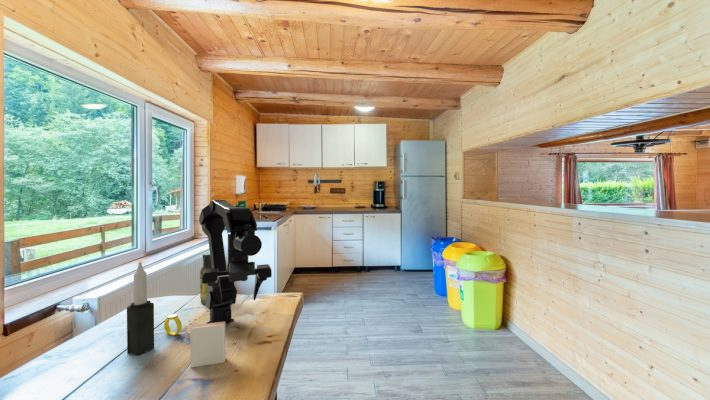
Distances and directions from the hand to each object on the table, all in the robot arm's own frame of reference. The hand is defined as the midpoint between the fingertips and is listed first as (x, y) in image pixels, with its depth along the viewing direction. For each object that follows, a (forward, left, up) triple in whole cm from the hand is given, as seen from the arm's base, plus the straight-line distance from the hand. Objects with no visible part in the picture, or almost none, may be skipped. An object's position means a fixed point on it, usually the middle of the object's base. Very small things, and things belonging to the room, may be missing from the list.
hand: (238, 301), depth 88 cm
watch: (-22, -5, -12) cm, 26 cm away
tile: (+1, -11, -7) cm, 13 cm away
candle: (-21, -15, -12) cm, 29 cm away
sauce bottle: (-35, +19, -12) cm, 42 cm away
